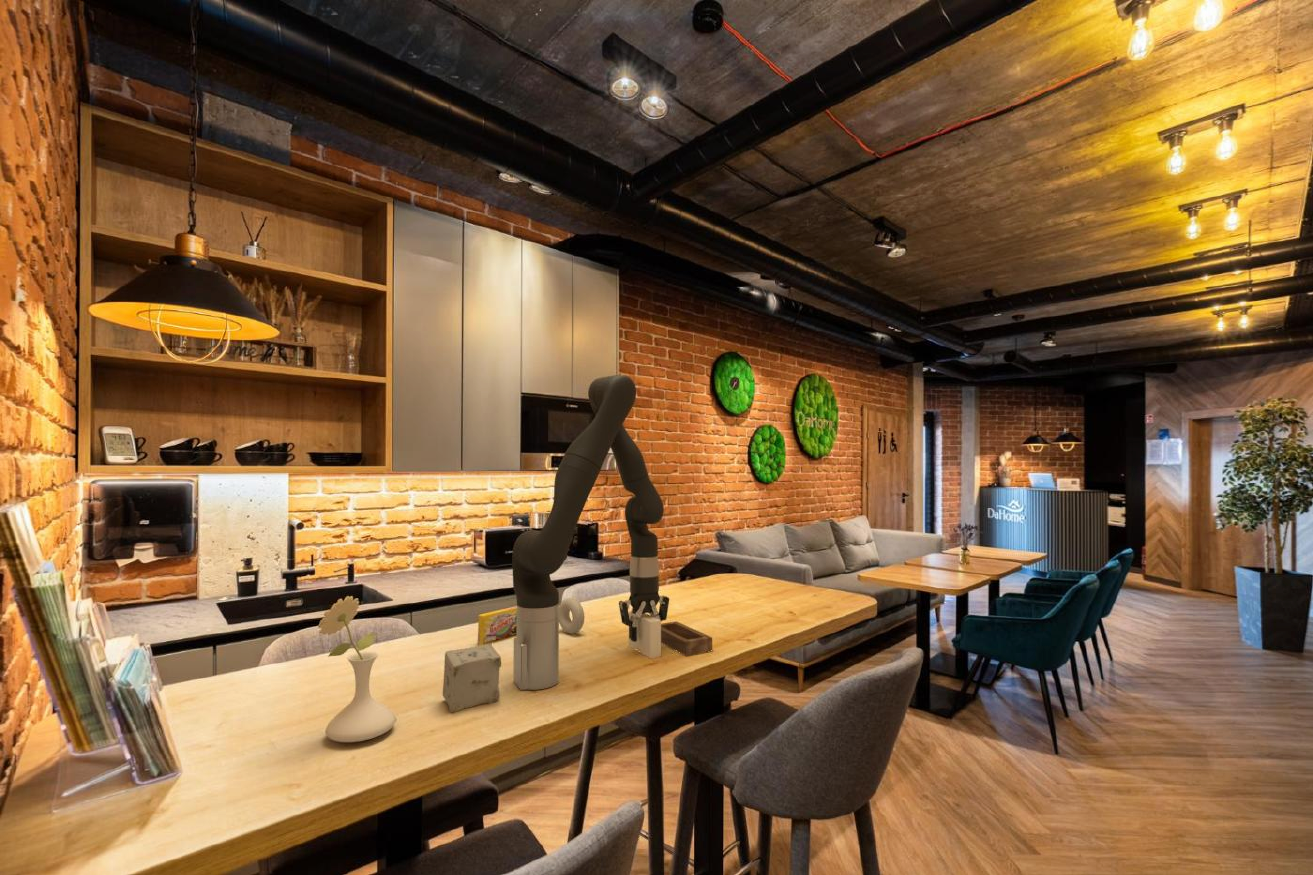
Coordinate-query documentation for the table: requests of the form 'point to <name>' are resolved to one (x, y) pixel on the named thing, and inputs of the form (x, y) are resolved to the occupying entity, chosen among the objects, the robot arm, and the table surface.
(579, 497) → the robot arm
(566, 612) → the donut
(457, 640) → the table surface
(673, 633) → the brown rectangular tray
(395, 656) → the table surface
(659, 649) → the white rectangular block
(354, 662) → the flower in vase
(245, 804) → the table surface
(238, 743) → the table surface
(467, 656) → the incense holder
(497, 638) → the candy box
